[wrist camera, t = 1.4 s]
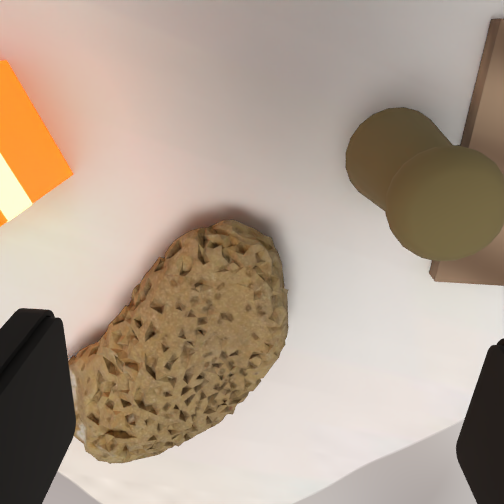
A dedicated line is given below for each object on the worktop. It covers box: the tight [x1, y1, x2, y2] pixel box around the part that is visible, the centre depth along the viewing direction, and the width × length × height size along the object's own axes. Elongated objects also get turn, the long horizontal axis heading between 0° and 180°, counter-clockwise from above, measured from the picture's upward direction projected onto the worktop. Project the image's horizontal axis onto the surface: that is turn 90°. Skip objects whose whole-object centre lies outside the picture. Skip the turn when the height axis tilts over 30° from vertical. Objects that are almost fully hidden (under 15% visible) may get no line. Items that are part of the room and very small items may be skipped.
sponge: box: [68, 220, 288, 464], centre depth 32 cm, size 13×8×20 cm
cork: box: [346, 107, 504, 261], centre depth 24 cm, size 6×6×11 cm
